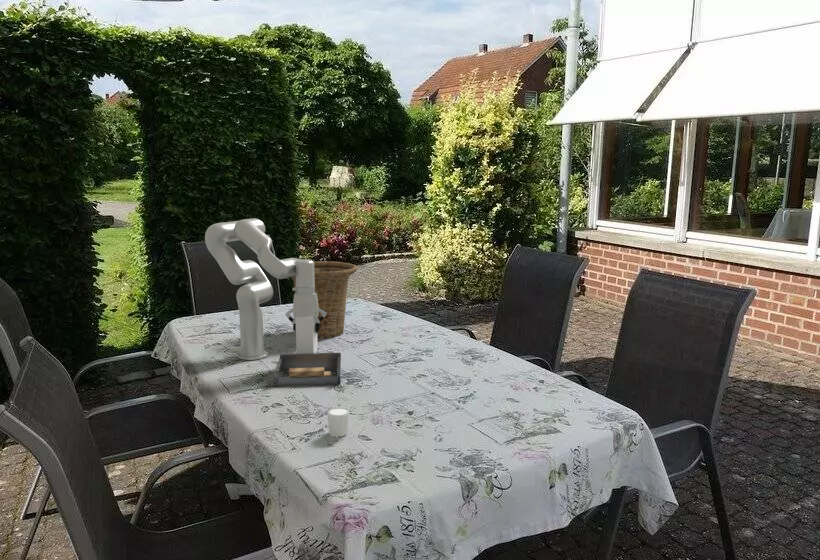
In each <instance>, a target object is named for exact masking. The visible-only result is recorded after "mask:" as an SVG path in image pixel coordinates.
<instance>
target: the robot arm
mask: <svg viewBox="0 0 820 560" xmlns="http://www.w3.org/2000/svg"><path fill="white" fill-rule="evenodd" d="M265 232H266V226H265V223H264V222H263V221H262V220H260V219H259V218H255V217H254V218H244V219H240V220H234V221H226V222H223V221H222V222H217V223H213V224H212V225H210V226H209V227H207V229H206V231H205V235H204V241H205V245H206V248H207V250H208V251H209V253H210V254H211V255H212V257H214V259H215V261H216V262H217V264H218V265H219V267H220V268H221V270H222V272H223V274H224V275H225V276H226V278H227V279H228V281H229V282H230V283H231V284H232V285H235V286H237V285H238V286H239V285H241V286H240V287H239V289H237V292H236V296H235V297H236V302H237V303H236V304H237V307H238V312H239V313H238V314H239V330H240V331H239V333H240V335H239V336H240V345H239V346H230V352H232V353H237V358H238V359H240V360H243V361H255V360H261V359H264V358H267V357H268V354H269V352H268V351H267V350H265V348H264V347H265V345H264V320H263V312H262V310H261V307H260V305H261V304H263V303H267V302H268V301H270V300H271V299H272V298H273V296H274V289H273V285H272V284H271V281H270V280H269V279H268V277H267V276H266V274H265V273H264V271H263V269H264V270H265V271H266V272H267V273H268V274H270V275H271V276H272V277H274V278H275V279H279V280H283V279H286V278H292V276H296V287H294V286H293V287H292V292H294V294H293V299H292V300H293V303H292V308H291V309H289V310H288V311H286V312H285V317H286V318H287V319H288V320H289V321H290V322H291V323H292V324H293V325H292V331H293V332H294V334H296V323H295V318H300V317H306V316H311V315H313V318H314V319H315V320H316V333H318V330H320V322H321V321H322V320H323V319H324V317H325V316H326V314H327V312H325V311H324V310H322V309H321V308H319V307H318V298H317V294H316V293H315V275H314V262H315V261H313V260H311V259H301V258H296V257H290V258H283V259H279V258H278V257H276V255H274V254H273V253H272V251H271V250H270V249H271V248H272V245H273V239H272V238H270V236H269V235H267V234H266V233H265ZM236 241H241V242H242V243H244V244H245V245H246V246H247V247H248V248H250V249H251V250H252V251H253V252H254V253H255V254H256V255H257V260H258V261H259V264H260V265H261V266H260V265H259V264H258V263H257V262H256V261H254V260H251V259H246V260H241V259H240V257H239V256H238V254H237V253H236V251H235V250H234V249H233V248H232V247H230V245H228V244H227V243H229V242H236ZM261 267H262V268H263V269H262V268H261ZM243 284H244V285H243ZM295 292H296V293H295ZM319 312H321V313H322V316H321V317H320V318H319V317H318V315H319ZM291 314H292V315H293V316H291Z"/></svg>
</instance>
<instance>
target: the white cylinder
mask: <svg viewBox="0 0 820 560" xmlns="http://www.w3.org/2000/svg"><path fill="white" fill-rule="evenodd" d="M326 413H327V423H328V432H329V435H330V436H331V435H332V436H331V437H333V436H343V437H345V436H344V435H346V436H347V435H348V434H349V425H350V415H351V414H350V413H351V411H350V409H349V408H346V407H345V408H344V407H333V408H331V409H329V410H327V411H326Z"/></svg>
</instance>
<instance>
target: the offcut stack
mask: <svg viewBox="0 0 820 560" xmlns="http://www.w3.org/2000/svg"><path fill="white" fill-rule="evenodd" d="M319 376H332V371H324V367H318V368H290V369H289V372H288V377H319Z"/></svg>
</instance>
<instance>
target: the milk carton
mask: <svg viewBox="0 0 820 560" xmlns="http://www.w3.org/2000/svg"><path fill="white" fill-rule="evenodd" d="M295 323H296V333H295V343H296V344H295V347H296V348H295V349H296V354H302V353H317V351H318V348H319V347H318V345H319V344H318V343H319V342H318V336H317V333H316V320H315V319H314V318H313V315H311V316H306V317H300V318H295Z"/></svg>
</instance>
